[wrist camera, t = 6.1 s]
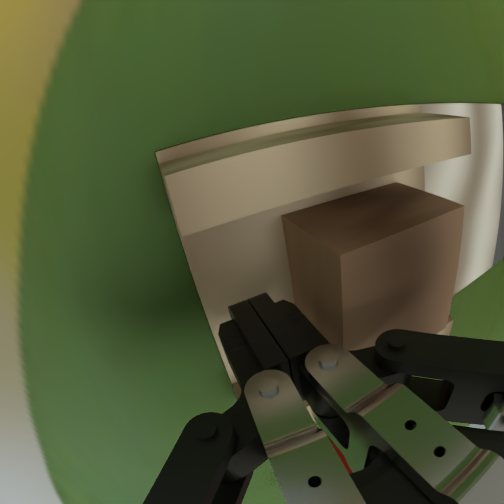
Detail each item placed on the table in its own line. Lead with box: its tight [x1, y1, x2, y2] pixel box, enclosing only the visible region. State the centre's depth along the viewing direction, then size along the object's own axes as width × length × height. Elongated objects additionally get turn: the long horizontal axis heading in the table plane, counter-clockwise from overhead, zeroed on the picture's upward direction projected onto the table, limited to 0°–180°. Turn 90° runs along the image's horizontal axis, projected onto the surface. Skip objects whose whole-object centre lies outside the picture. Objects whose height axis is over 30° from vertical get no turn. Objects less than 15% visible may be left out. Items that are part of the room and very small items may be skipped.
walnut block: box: [281, 182, 464, 351], centre depth 12 cm, size 6×6×4 cm
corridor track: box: [155, 103, 504, 422], centre depth 15 cm, size 32×13×3 cm, turn 102°
